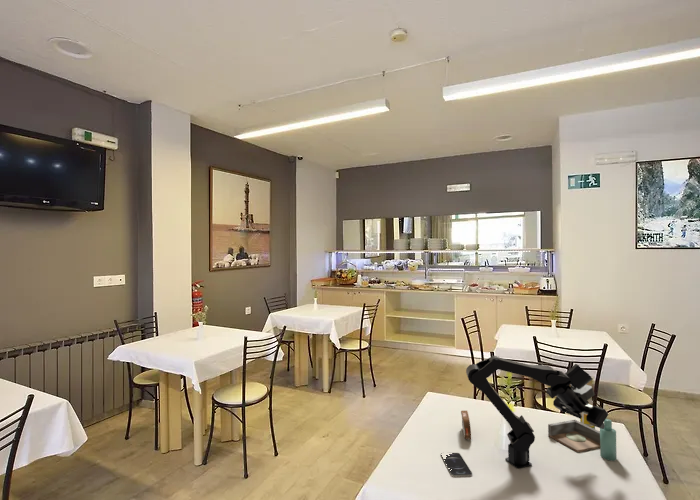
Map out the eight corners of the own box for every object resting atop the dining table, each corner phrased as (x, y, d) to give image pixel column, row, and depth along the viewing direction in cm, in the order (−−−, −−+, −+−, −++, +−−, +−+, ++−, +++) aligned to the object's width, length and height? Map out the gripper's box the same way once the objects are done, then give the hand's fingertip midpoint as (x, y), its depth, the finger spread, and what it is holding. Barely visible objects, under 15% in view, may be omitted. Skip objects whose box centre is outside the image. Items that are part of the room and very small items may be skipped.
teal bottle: (609, 461, 140) (608, 423, 140) (597, 454, 145) (596, 418, 145) (619, 459, 141) (619, 422, 141) (607, 452, 146) (606, 416, 146)
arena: (577, 452, 146) (577, 439, 146) (548, 436, 160) (548, 424, 160) (605, 446, 151) (605, 434, 151) (575, 431, 164) (574, 419, 164)
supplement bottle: (577, 425, 169) (577, 403, 169) (586, 424, 171) (586, 402, 171) (588, 431, 164) (588, 408, 164) (598, 429, 165) (597, 406, 166)
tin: (471, 443, 154) (471, 422, 154) (463, 442, 155) (463, 421, 155) (468, 426, 169) (468, 407, 169) (460, 426, 170) (460, 406, 170)
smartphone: (459, 452, 147) (473, 474, 132) (459, 454, 147) (473, 477, 132) (439, 453, 146) (451, 475, 131) (439, 455, 146) (451, 477, 131)
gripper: (603, 386, 131) (628, 414, 134) (558, 370, 149) (581, 396, 152) (585, 412, 128) (611, 441, 131) (542, 393, 146) (566, 419, 149)
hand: (591, 422), depth 141 cm, fingers open, 9 cm apart
